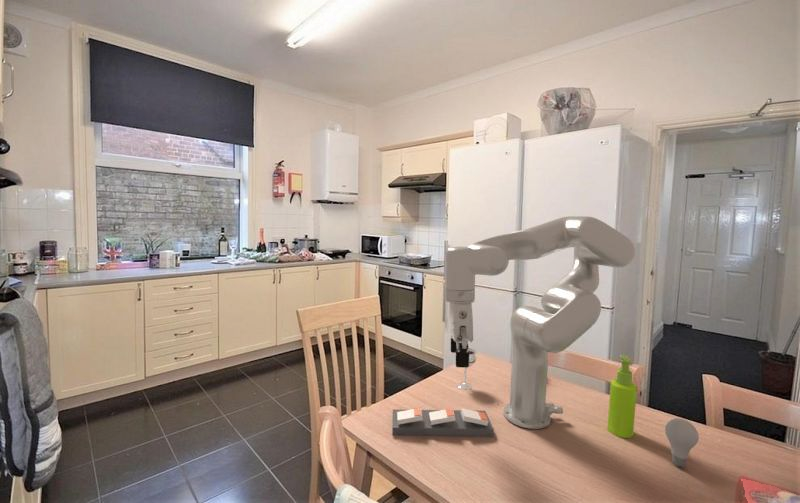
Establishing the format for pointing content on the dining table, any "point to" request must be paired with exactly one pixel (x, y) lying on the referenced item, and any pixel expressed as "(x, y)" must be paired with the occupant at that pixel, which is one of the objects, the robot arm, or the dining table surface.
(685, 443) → the lightbulb
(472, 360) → the wineglass
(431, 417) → the rocker middle
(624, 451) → the dining table surface
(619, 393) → the soap dispenser
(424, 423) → the strip
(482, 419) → the rocker
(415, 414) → the block
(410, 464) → the dining table surface
